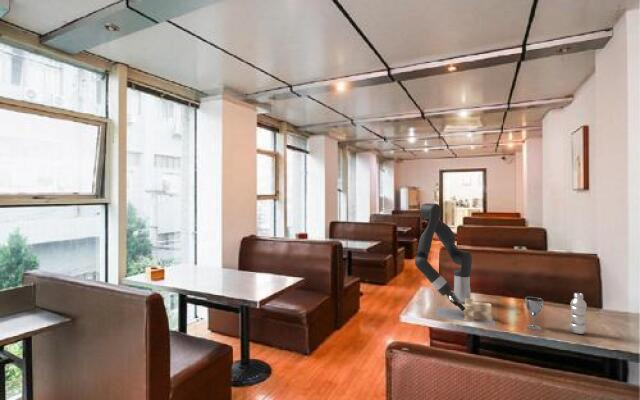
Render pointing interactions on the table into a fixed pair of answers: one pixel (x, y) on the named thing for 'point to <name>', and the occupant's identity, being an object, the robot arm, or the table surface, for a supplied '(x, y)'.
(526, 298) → the wine glass
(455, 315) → the T board
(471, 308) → the maple T block
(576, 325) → the plastic bottle
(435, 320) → the table surface
